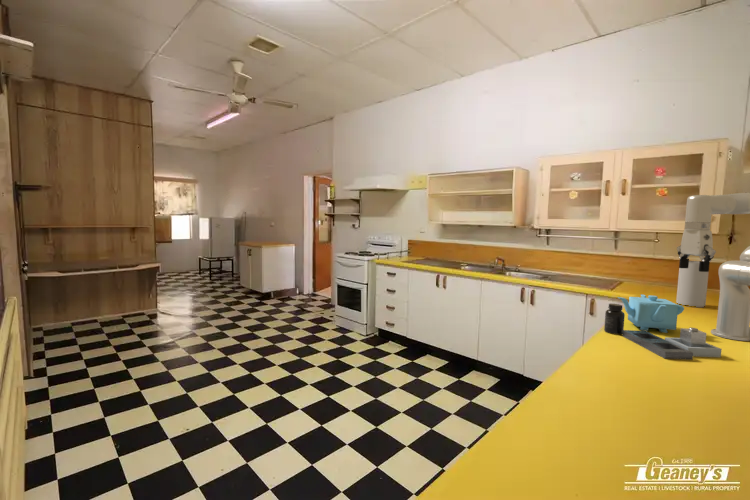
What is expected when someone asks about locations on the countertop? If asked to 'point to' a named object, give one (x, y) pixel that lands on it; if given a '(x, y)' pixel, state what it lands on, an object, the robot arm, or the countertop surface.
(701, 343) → the beige block with knob
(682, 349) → the rail
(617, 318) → the supplement bottle
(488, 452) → the countertop surface
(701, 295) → the cylinder vase
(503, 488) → the countertop surface
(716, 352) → the parts tray
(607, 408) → the countertop surface
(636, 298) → the teakettle
